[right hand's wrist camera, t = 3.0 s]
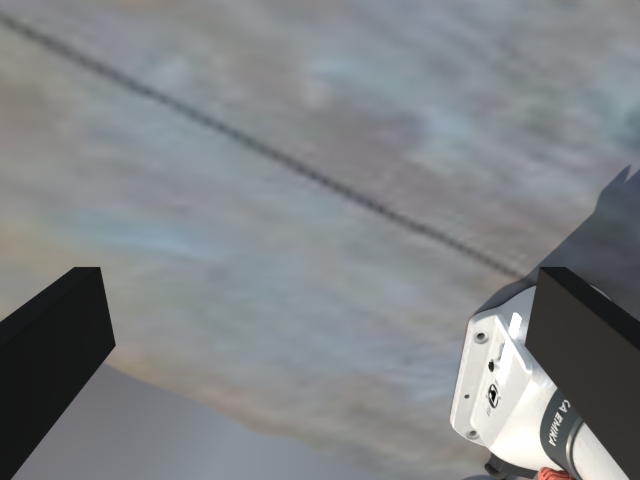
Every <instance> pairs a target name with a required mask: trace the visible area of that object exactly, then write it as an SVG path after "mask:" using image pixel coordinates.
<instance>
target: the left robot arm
mask: <svg viewBox="0 0 640 480" xmlns="http://www.w3.org/2000/svg"><path fill="white" fill-rule="evenodd" d="M590 286H592V285H590ZM592 287H593V288H594V289H596V290H597V291H599V292H600V293H601V294H603V295H604V296H605V297H607V298H608V299H609V300H611V299H610V298H609V297H608V296H607V295H606V294H605V293H603V292H602V291H601V290H599V289H598V288H596V287H594V286H592ZM535 289H536V286H533V287H531V288H528V289H526V290H524V291H522V292H521V293H519V294H517V295H516V296H514V297H513V298H512V299H510V300H509V301H507V302H506V303H504V304H503V305H501V306H499V307H497V308H493V309H489V310H486V311H483V312H480V313H478V314H476V315H474V316H473V317H472V318H471V319H470V321H469V324H468V329H467V334H466V340H465V345H464V350H463V355H462V360H461V365H460V370H459V375H458V380H457V385H456V390H455V395H454V400H453V405H452V410H451V416H450V423H451V425H452V426H453V428H454V429H455V430H456V431H457V432H458V433H459V434H460V435H462V436H463V437H465V438H466V439H468V440H470V441H472V442H475V443H477V444H480V445H483V446H486V447H487V448H488V449H489V450H490V451H491V452H492V453H491V455H492V458H493V460H494V462H495V464H496V466H497V468H498V471H499V472H497V471H496V470H495V469H494V468H492V466H491V465H489V464H486V465H485V470H486V471H487V472H488V473H489V474H490V475H491V476H492V477H493V478H495V479H497V480H506V479H505V477H507V476H508V475H509V474H512V475H516V476H521V477H525V478H530V479H533V478H534V476H535V475H536V473H537V472H538V471H539V474H538V478H539V480H629V479H628V477H627V476H626V475H625V473H624V472H623V471H622V470H621V468H620V467H619V466H618V465H617V463H616V462H615V461H614V459H613V458H612V457H611V456H610V454H609V453H608V452H607V451H606V449H605V448H604V447H603V445H602V444H601V443H600V442H599V440H598V439H597V438H596V436H595V435H594V434H593V433H592V431H591V430H590V429H589V428H588V426H587V425H586V424H585V422H584V421H583V420H582V419H581V417H580V416H579V415H578V414H577V412H576V411H575V410H574V408H573V407H572V406H571V405H570V403H569V402H568V401H567V399H566V398H565V397H564V396H563V394H562V393H561V392H560V391H559V389H558V388H557V387H556V385H555V384H554V383H553V382H552V380H551V379H550V378H549V377H548V375H547V374H546V373H545V371H544V370H543V369H542V368H541V366H540V365H539V364H538V363H537V361H536V360H535V359H534V357H533V356H532V355H531V354H530V352H529V351H528V350H527V348H526V347H525V346H524V344H525V339H526V334H527V329H528V324H529V319H530V314H531V309H532V304H533V299H534V294H535ZM479 333H482V335H480V336H477V335H478V334H479ZM569 475H571V477H570V476H569Z"/></svg>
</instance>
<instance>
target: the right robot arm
mask: <svg viewBox="0 0 640 480" xmlns="http://www.w3.org/2000/svg"><path fill="white" fill-rule="evenodd" d="M115 346H116V344H115V339H114V334H113V329H112V324H111V319H110V314H109V309H108V304H107V299H106V294H105V289H104V284H103V279H102V274H101V269H100V267H74V268H73V269H71V270H70V271H68V272H67V273H66V274H64V275H63V276H62V277H60V278H59V279H58V280H56V281H55V282H54V283H52V284H51V285H50V286H48V287H47V288H46V289H44V290H43V291H41V292H40V293H39V294H37V295H36V296H35V297H33V298H32V299H31V300H29V301H28V302H27V303H25V304H24V305H23V306H21V307H20V308H19V309H17V310H16V311H15V312H13V313H12V314H10V315H9V316H8V317H6V318H5V319H4V320H2V321H1V322H0V480H11V479H12V477H13V476H14V475H15V473H16V472H17V471H18V470H19V468H20V467H21V466H22V465H23V463H24V462H25V461H26V459H27V458H28V457H29V456H30V454H31V453H32V452H33V451H34V449H35V448H36V447H37V445H38V444H39V443H40V442H41V440H42V439H43V438H44V436H45V435H46V434H47V433H48V431H49V430H50V429H51V428H52V426H53V425H54V424H55V422H56V421H57V420H58V419H59V417H60V416H61V415H62V414H63V412H64V411H65V410H66V408H67V407H68V406H69V405H70V403H71V402H72V401H73V399H74V398H75V397H76V396H77V394H78V393H79V392H80V391H81V389H82V388H83V387H84V385H85V384H86V383H87V382H88V380H89V379H90V378H91V376H92V375H93V374H94V373H95V371H96V370H97V369H98V368H99V366H100V365H101V364H102V363H103V361H104V360H105V359H106V357H107V356H108V355H109V354H110V352H111V351H112V350H113V348H114V347H115ZM524 346H525V347H526V348H527V350H528V351H529V352H530V354H531V355H532V356H533V357H534V359H535V360H536V361H537V363H538V364H539V365H540V366H541V368H542V369H543V370H544V371H545V373H546V374H547V375H548V377H549V378H550V379H551V380H552V382H553V383H554V384H555V385H556V387H557V388H558V389H559V391H560V392H561V393H562V394H563V396H564V397H565V398H566V399H567V401H568V402H569V403H570V405H571V406H572V407H573V408H574V410H575V411H576V412H577V414H578V415H579V416H580V417H581V419H582V420H583V421H584V422H585V424H586V425H587V426H588V428H589V429H590V430H591V431H592V433H593V434H594V435H595V436H596V438H597V439H598V440H599V442H600V443H601V444H602V445H603V447H604V448H605V449H606V451H607V452H608V453H609V454H610V456H611V457H612V458H613V459H614V461H615V462H616V463H617V465H618V466H619V467H620V468H621V470H622V471H623V472H624V473H625V475H626V476H627V477H628V479H629V480H640V322H639V321H638V320H636V319H635V318H634V317H632V316H631V315H630V314H628V313H627V312H625V311H624V310H623V309H621V308H620V307H619V306H617V305H616V304H615V303H613V302H612V301H611V300H609V299H608V298H607V297H605V296H604V295H603V294H601V293H600V292H599V291H597V290H596V289H594V288H593V287H592V286H590V285H589V284H588V283H586V282H585V281H584V280H582V279H581V278H580V277H578V276H577V275H576V274H574V273H573V272H572V271H570V270H569V269H567V268H566V267H540V269H539V274H538V279H537V284H536V289H535V294H534V299H533V304H532V309H531V314H530V319H529V324H528V329H527V334H526V339H525V344H524Z"/></svg>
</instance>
